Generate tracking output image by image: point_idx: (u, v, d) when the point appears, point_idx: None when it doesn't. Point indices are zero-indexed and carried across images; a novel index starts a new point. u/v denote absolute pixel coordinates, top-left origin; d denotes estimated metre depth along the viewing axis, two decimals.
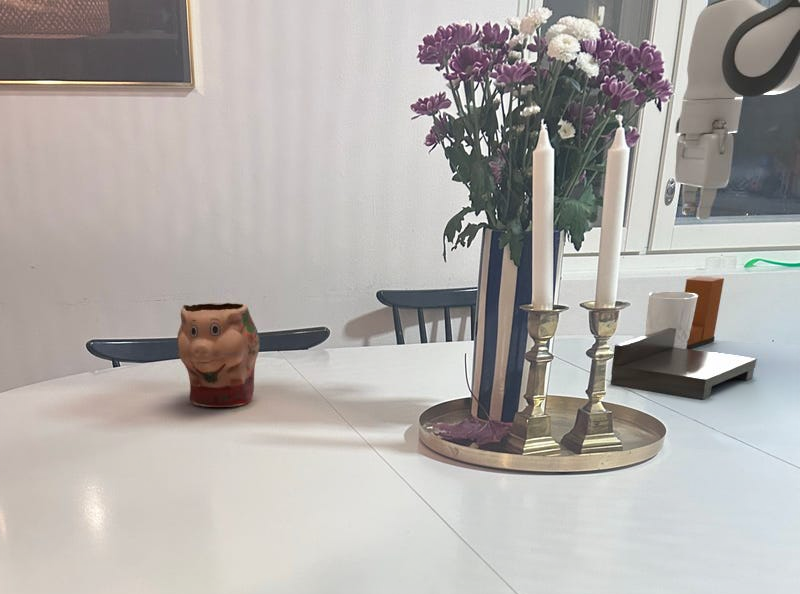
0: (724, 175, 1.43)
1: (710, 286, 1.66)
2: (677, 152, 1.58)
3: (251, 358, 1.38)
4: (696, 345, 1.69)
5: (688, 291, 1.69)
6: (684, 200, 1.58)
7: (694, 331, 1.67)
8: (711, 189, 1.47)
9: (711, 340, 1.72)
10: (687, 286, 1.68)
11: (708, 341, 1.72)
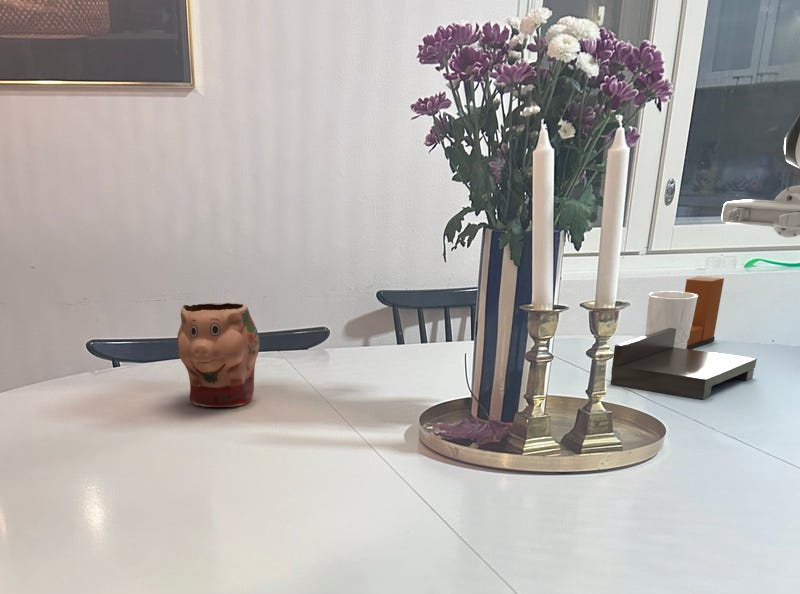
0: None
1: (710, 286, 1.66)
2: None
3: (251, 358, 1.38)
4: (696, 345, 1.69)
5: (688, 291, 1.69)
6: None
7: (694, 331, 1.67)
8: None
9: (711, 340, 1.72)
10: (687, 286, 1.68)
11: (708, 341, 1.72)
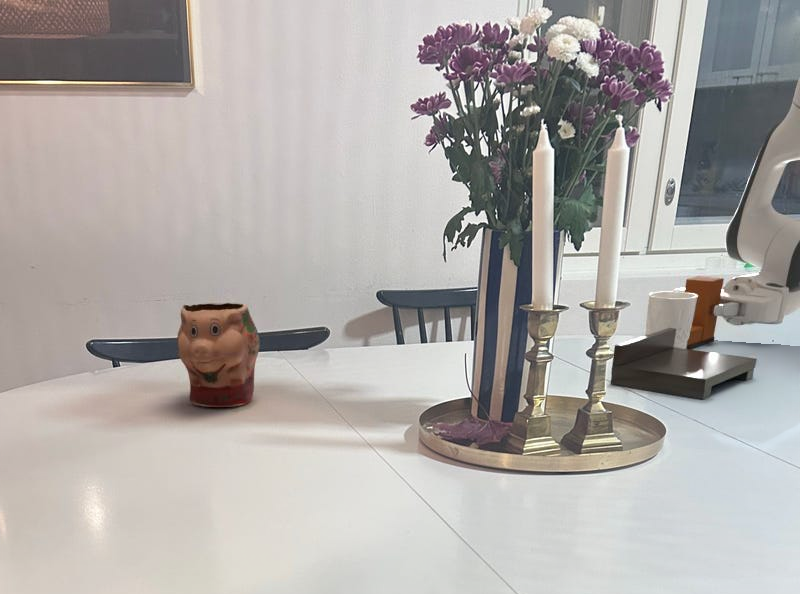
0: None
1: (710, 286, 1.66)
2: None
3: (251, 358, 1.38)
4: (696, 345, 1.69)
5: (688, 291, 1.69)
6: None
7: (694, 331, 1.67)
8: None
9: (711, 340, 1.72)
10: (687, 286, 1.68)
11: (708, 341, 1.72)
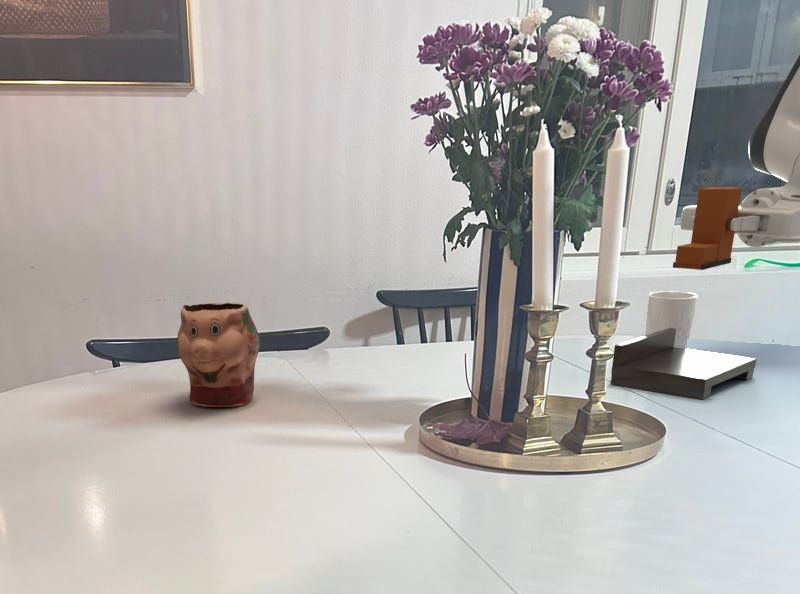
0: None
1: (727, 196, 1.43)
2: (794, 237, 1.47)
3: (251, 358, 1.38)
4: (710, 265, 1.46)
5: (701, 203, 1.46)
6: None
7: (708, 248, 1.44)
8: None
9: (727, 261, 1.50)
10: (700, 197, 1.46)
11: (724, 262, 1.49)
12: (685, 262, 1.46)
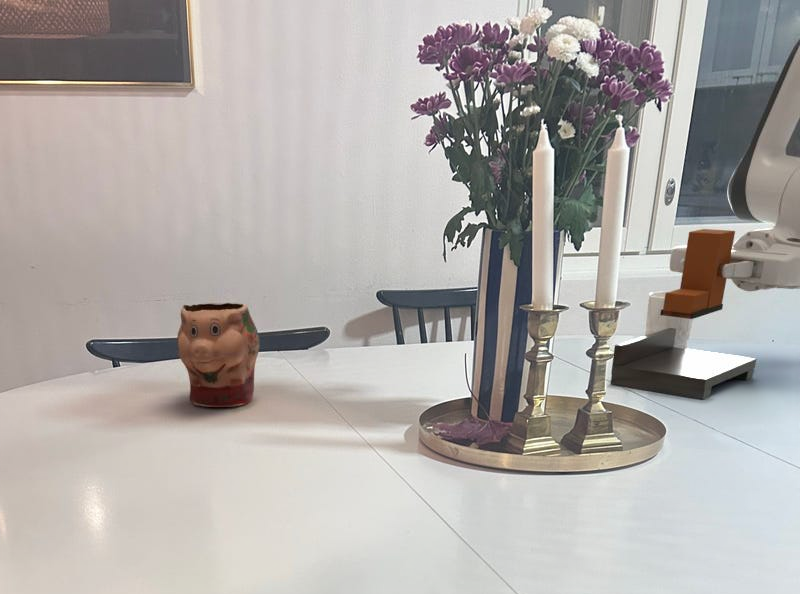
0: None
1: (719, 240, 1.34)
2: None
3: (251, 358, 1.38)
4: (700, 313, 1.37)
5: (691, 247, 1.37)
6: None
7: (698, 296, 1.35)
8: None
9: (719, 308, 1.41)
10: (690, 240, 1.37)
11: (715, 309, 1.40)
12: (673, 310, 1.37)
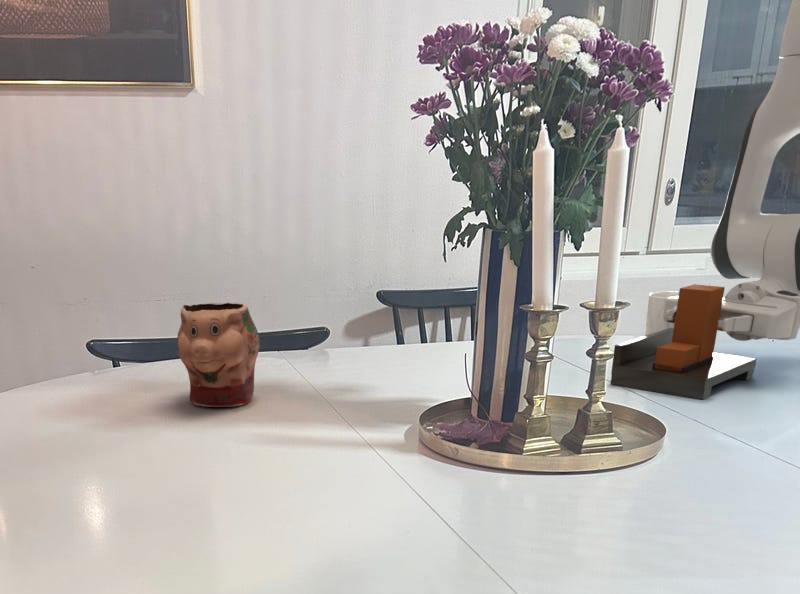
0: None
1: (708, 297, 1.38)
2: None
3: (251, 358, 1.38)
4: (691, 367, 1.41)
5: (682, 302, 1.41)
6: None
7: (689, 351, 1.39)
8: None
9: (709, 361, 1.44)
10: (680, 296, 1.40)
11: (706, 362, 1.44)
12: (665, 364, 1.41)
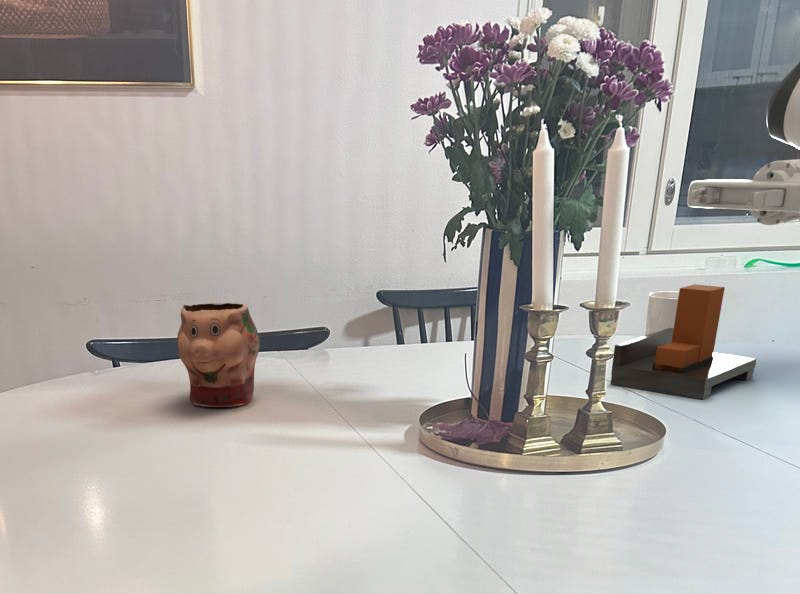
0: None
1: (708, 297, 1.38)
2: None
3: (251, 358, 1.38)
4: (691, 367, 1.41)
5: (682, 302, 1.41)
6: None
7: (689, 351, 1.39)
8: None
9: (709, 361, 1.44)
10: (680, 296, 1.40)
11: (706, 362, 1.44)
12: (665, 364, 1.41)
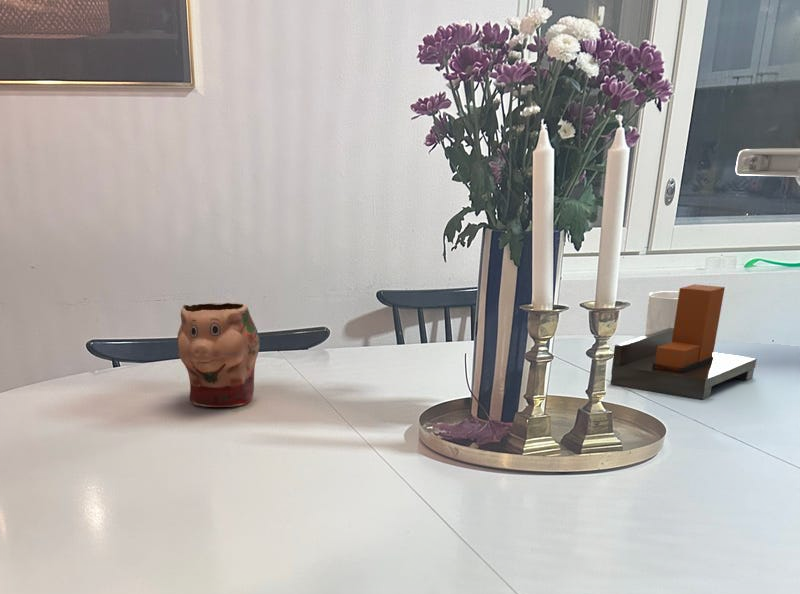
0: None
1: (708, 297, 1.38)
2: None
3: (251, 358, 1.38)
4: (691, 367, 1.41)
5: (682, 302, 1.41)
6: None
7: (689, 351, 1.39)
8: None
9: (709, 361, 1.44)
10: (680, 296, 1.40)
11: (706, 362, 1.44)
12: (665, 364, 1.41)
